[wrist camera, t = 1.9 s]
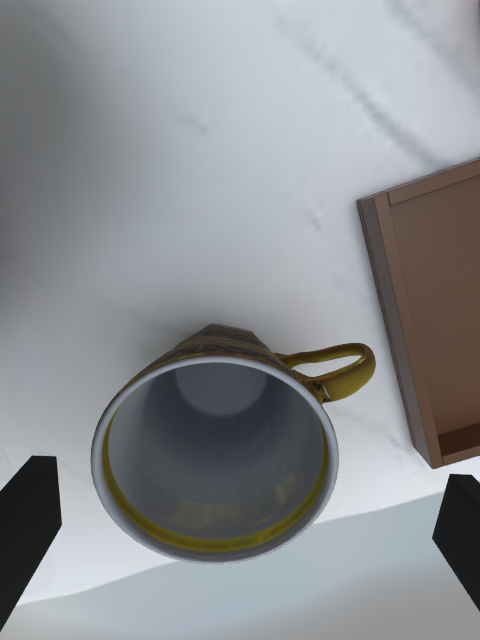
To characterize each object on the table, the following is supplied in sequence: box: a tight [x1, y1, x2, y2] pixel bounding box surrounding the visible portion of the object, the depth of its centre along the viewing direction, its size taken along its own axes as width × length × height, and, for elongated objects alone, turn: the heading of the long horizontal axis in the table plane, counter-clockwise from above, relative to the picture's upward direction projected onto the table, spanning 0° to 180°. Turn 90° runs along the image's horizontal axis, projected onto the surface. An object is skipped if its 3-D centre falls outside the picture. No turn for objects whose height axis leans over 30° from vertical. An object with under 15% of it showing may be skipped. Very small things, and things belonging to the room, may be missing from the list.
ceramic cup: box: [91, 324, 376, 564], centre depth 18 cm, size 13×10×10 cm
